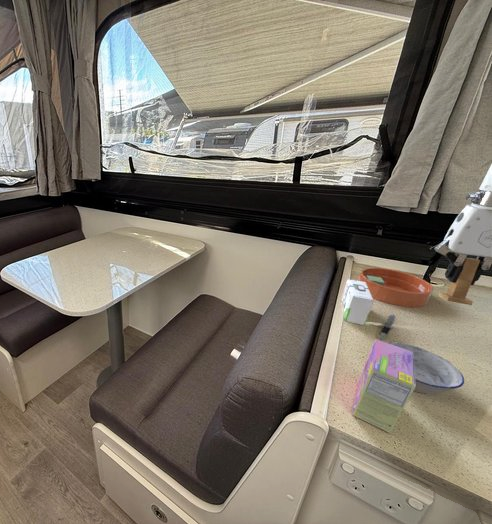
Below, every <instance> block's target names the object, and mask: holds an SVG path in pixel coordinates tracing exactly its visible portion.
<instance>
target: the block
mask: <svg viewBox="0 0 492 524" xmlns="http://www.w3.org/2000/svg"><path fill="white" fill-rule="evenodd" d="M366 278H367V279H369V280H371V281H372V282H374V283H377V284H379V285H382V286H383V285H384V281H383V280H382V278H381V277H374V276H368V275H367V276H366Z"/></svg>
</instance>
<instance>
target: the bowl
mask: <svg viewBox="0 0 492 524" xmlns="http://www.w3.org/2000/svg"><path fill="white" fill-rule="evenodd" d="M387 343H388V344H391V345H394V346H397V347H400V348H403V349H406V350H409V351H412V352H413V356H414V371H415V384H416V387H415V389H414V390H413V392H417V393H421V394H427V395H431V394H436V393H440V392H444V391H448V390H454V389H458V388H460V387H463V385H464V384H465V377H464V375H463V373H462V372H461V371H460V370H459V369H458V368H457V367H456V366H455V365H454V364H452V363H451V361H449V360H447V359H444V358H443V357H442V356H440V355H438V354H436V353H434V352H431V351H429V350H426V349H425V348H422V347H419V346H415V345H412V344H410V343H404V342H397V341H392V342H387Z"/></svg>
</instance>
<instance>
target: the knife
mask: <svg viewBox="0 0 492 524" xmlns="http://www.w3.org/2000/svg"><path fill="white" fill-rule="evenodd" d="M394 321H395V314H390V315H388V317H387V320H386V322H384V325H383V324H377V325H376V328H379V327H380V328H382V329H381V331H380V335H377V338H379V339H381V340H385V339H386V338H387V336H388V334H389V332H390V331H392V326H393V323H394Z"/></svg>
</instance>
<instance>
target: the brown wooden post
mask: <svg viewBox="0 0 492 524" xmlns="http://www.w3.org/2000/svg"><path fill="white" fill-rule="evenodd" d="M479 262H480V260H477V259H476V258H473V257H466V258H465V260H464V262H463V263H462V267H463V270H462V272H461V273H460V275H459V277H458V279H457V281H456V282H455V283H453V282H450V284H449V286H448V290H447V292H446V293H445V292H441V291H439V292H438V295H437V297H439V298H441V299H442V300H445V301H446V302H450V303H455V304H462V305H468V306H472V305H473V303H474V300H472V299H470V298H467V295H468V293H469V290H470V287H471V286H472V285H471V283H472V280H473V277H474V275H475V272H476V270H477V267H478V265H479Z"/></svg>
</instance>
